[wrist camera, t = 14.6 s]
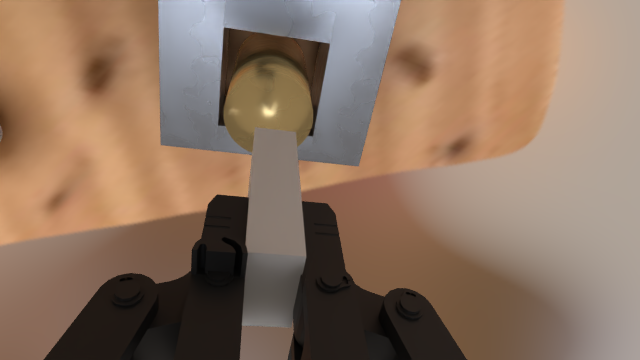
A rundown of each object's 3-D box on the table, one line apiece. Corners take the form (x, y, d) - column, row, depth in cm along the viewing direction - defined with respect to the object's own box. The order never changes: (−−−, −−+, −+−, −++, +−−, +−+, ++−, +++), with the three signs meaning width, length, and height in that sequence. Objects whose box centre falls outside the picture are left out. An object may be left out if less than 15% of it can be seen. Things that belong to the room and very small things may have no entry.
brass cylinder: (239, 24, 27) (226, 67, 20) (310, 36, 28) (320, 80, 21) (233, 92, 29) (221, 150, 23) (299, 101, 30) (305, 160, 23)
